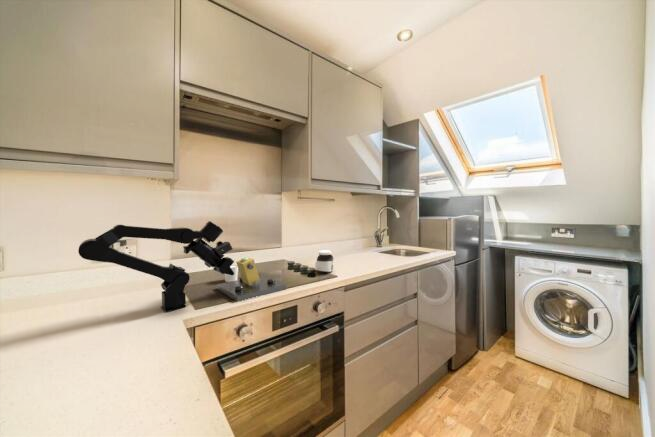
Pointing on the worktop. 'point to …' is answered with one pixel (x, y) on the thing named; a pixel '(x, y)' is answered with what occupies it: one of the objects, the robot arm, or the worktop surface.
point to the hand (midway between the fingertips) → (233, 274)
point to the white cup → (232, 277)
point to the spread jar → (324, 262)
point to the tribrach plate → (250, 288)
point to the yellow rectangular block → (248, 270)
